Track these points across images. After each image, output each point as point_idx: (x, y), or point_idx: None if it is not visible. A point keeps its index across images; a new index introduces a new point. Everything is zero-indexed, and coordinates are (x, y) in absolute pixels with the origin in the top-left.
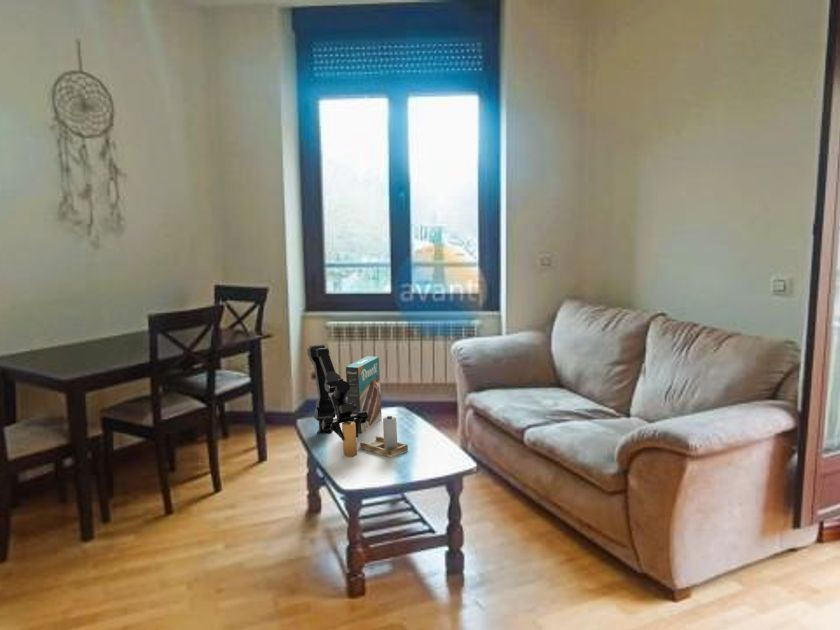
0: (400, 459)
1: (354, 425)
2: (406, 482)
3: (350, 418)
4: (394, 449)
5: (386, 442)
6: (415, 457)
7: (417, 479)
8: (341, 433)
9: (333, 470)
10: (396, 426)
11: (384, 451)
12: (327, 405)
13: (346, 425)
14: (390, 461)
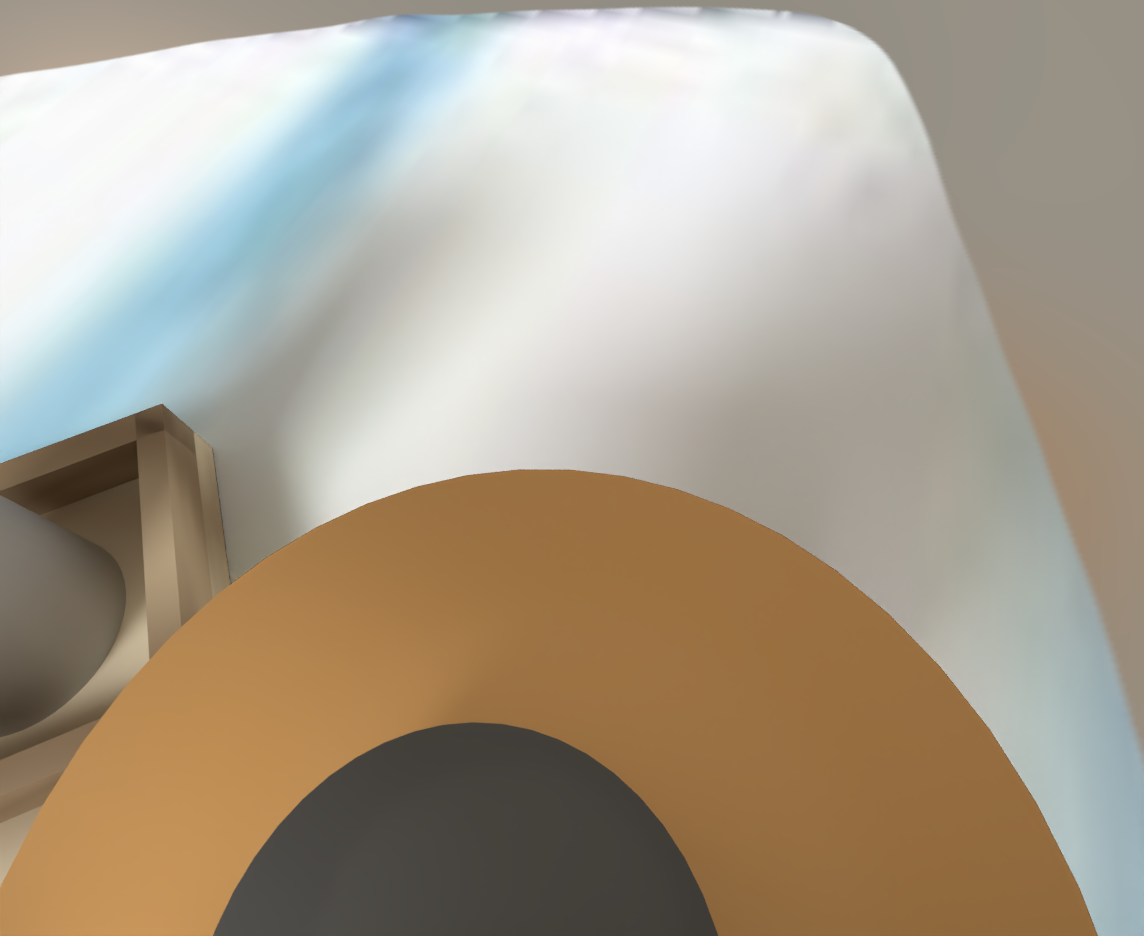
0: (169, 362)
1: (291, 588)
2: (429, 17)
3: None
4: (67, 446)
5: (9, 527)
6: (27, 351)
7: (341, 32)
8: None
9: (970, 367)
10: None
11: (185, 504)
12: None
13: (775, 599)
14: (282, 354)
